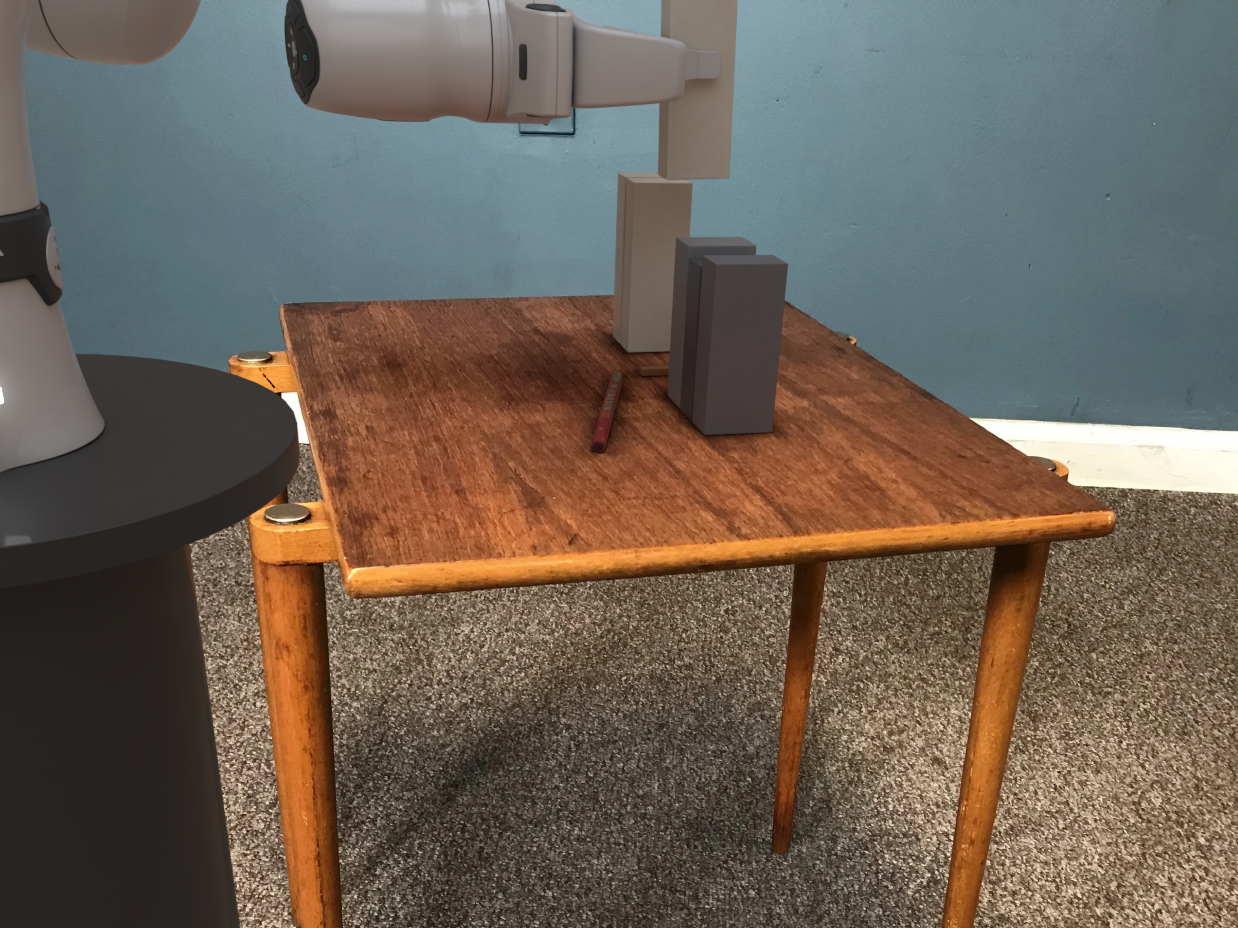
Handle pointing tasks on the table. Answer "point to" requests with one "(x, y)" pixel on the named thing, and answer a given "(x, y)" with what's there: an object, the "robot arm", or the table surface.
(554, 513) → the table surface
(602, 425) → the pencil
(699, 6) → the white book
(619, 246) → the white books
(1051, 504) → the table surface
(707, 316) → the grey books
